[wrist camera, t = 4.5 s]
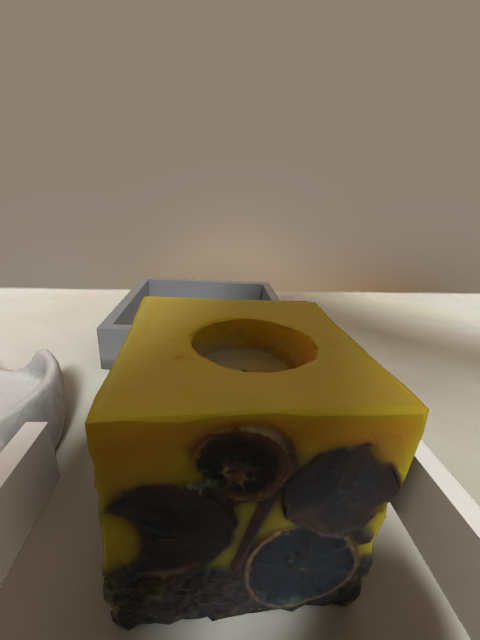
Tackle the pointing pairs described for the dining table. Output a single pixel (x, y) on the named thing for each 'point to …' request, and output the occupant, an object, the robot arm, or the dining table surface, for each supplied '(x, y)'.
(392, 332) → the dining table surface
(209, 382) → the candle
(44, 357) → the dish
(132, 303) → the tray
